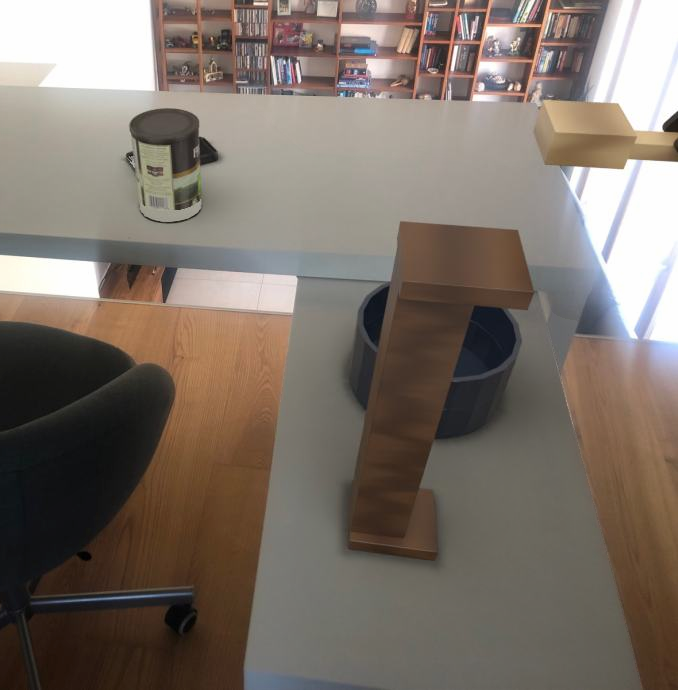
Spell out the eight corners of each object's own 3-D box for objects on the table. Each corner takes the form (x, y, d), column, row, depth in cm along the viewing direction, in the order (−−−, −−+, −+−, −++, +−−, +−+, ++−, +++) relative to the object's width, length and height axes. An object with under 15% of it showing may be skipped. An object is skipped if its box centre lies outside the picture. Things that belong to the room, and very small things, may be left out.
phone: (220, 153, 121) (138, 172, 117) (220, 159, 122) (139, 178, 117) (202, 135, 126) (124, 152, 122) (202, 141, 127) (124, 158, 123)
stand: (430, 498, 70) (518, 229, 48) (434, 561, 65) (534, 292, 43) (350, 488, 71) (400, 220, 49) (348, 549, 66) (402, 280, 44)
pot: (490, 340, 87) (509, 283, 80) (509, 447, 74) (533, 389, 68) (351, 327, 89) (359, 270, 83) (346, 428, 76) (356, 371, 70)
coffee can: (198, 186, 115) (195, 104, 106) (206, 220, 108) (203, 135, 98) (136, 192, 114) (127, 110, 105) (140, 226, 107) (130, 141, 97)
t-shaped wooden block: (544, 165, 46) (555, 131, 45) (532, 131, 50) (542, 99, 48) (773, 178, 44) (793, 144, 43) (743, 143, 48) (761, 109, 46)
